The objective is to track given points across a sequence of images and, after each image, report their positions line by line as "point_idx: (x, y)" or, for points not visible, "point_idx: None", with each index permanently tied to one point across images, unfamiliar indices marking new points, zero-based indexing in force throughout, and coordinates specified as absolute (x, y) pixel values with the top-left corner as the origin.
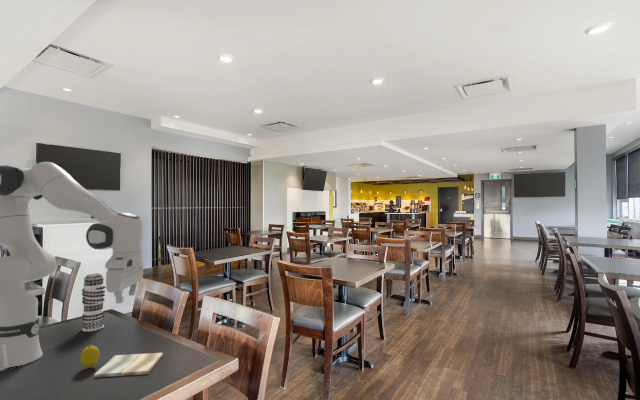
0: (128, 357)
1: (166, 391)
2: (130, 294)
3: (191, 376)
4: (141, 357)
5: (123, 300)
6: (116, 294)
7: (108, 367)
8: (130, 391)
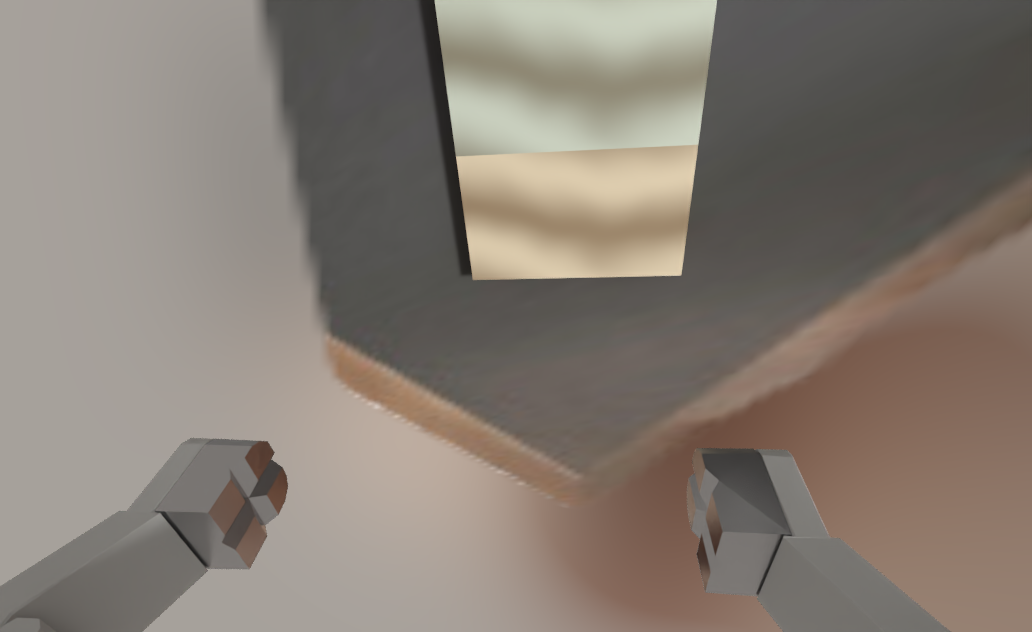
0: (655, 96)
1: (349, 375)
2: (699, 477)
3: (453, 421)
4: (638, 182)
5: (277, 509)
6: (19, 615)
7: (523, 31)
8: (330, 258)
